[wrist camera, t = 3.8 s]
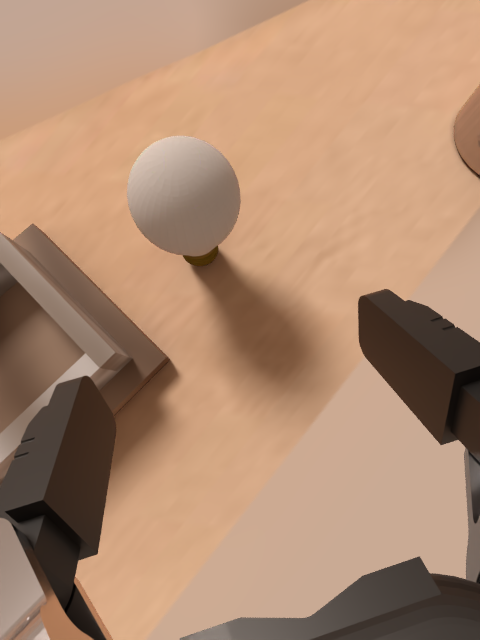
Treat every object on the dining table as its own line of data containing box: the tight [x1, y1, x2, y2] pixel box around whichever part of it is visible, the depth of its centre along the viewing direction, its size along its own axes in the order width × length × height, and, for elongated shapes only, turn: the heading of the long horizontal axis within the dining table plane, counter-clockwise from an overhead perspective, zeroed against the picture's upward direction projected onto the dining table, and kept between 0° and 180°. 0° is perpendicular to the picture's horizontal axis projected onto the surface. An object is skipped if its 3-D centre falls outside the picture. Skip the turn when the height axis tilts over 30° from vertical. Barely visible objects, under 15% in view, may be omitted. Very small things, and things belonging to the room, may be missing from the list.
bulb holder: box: [0, 224, 170, 486], centre depth 21 cm, size 14×14×4 cm
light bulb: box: [127, 136, 240, 266], centre depth 20 cm, size 6×6×10 cm
